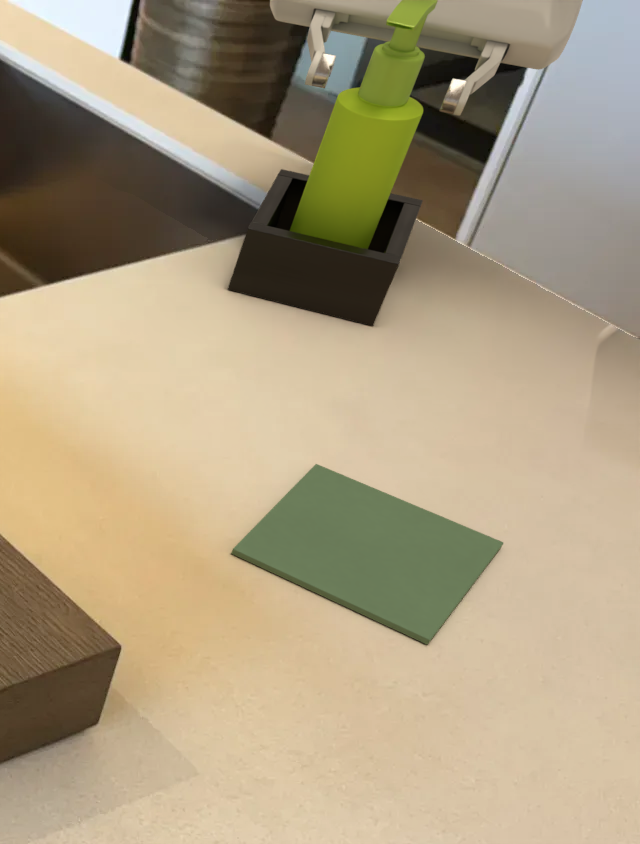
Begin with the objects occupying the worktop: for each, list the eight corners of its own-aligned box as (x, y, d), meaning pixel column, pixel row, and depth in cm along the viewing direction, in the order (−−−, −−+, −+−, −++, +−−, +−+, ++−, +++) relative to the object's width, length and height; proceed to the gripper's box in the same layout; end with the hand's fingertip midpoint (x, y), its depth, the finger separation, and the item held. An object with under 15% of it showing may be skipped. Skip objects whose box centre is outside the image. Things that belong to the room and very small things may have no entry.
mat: (501, 547, 83) (504, 542, 83) (427, 645, 77) (430, 639, 77) (313, 468, 89) (316, 463, 88) (230, 553, 82) (232, 548, 82)
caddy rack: (372, 326, 102) (399, 263, 98) (227, 289, 105) (247, 228, 101) (397, 260, 109) (423, 200, 105) (260, 228, 112) (280, 168, 109)
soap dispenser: (262, 280, 106) (358, 6, 92) (291, 247, 110) (388, -21, 96) (337, 304, 104) (449, 25, 89) (364, 268, 108) (475, -3, 93)
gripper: (313, -141, 98) (239, 45, 99) (626, -94, 91) (544, 105, 92) (304, -87, 104) (235, 88, 105) (597, -40, 97) (520, 146, 98)
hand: (382, 96), depth 98 cm, fingers open, 8 cm apart
